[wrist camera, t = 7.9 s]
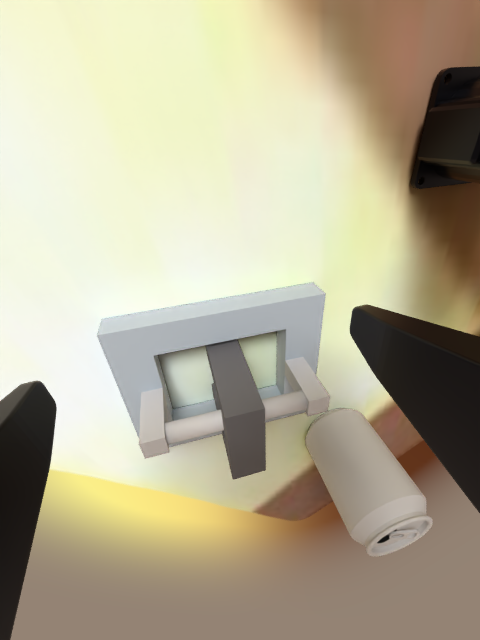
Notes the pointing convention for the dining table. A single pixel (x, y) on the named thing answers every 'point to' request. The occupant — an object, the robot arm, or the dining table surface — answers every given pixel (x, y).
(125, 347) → the square frame
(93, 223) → the dining table surface
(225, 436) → the tall grey upright block
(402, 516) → the can
